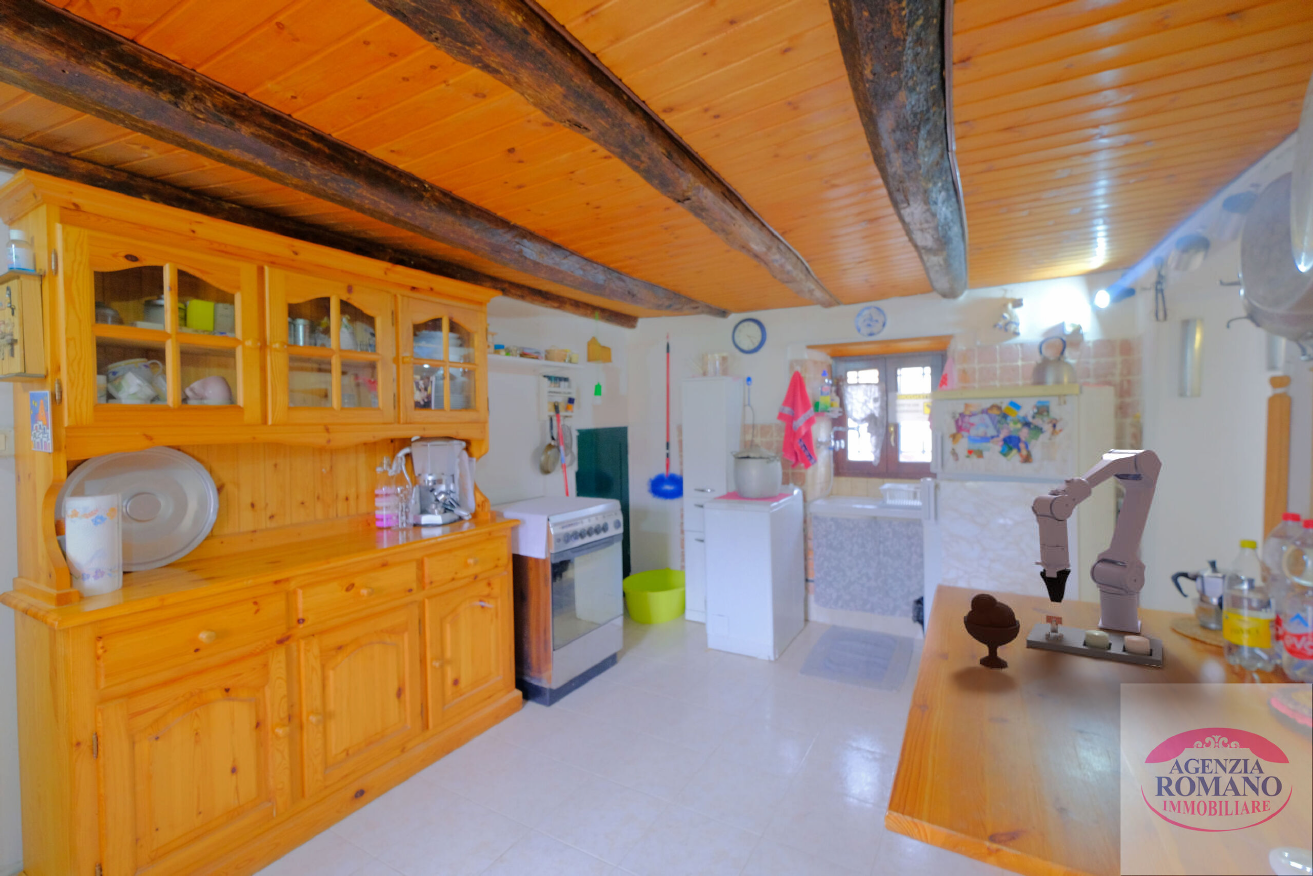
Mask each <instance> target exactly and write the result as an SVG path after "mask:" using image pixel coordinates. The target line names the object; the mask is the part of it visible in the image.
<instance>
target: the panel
mask: <svg viewBox="0 0 1313 876" xmlns="http://www.w3.org/2000/svg"><path fill="white" fill-rule="evenodd" d="M1087 630H1088V629H1086V628H1078V627H1072V626H1065V625H1058V633H1051V623H1042V622H1035V624H1034V626H1033V627H1032V629H1031V631H1030V632H1029V634H1028V636H1027V638H1026V639H1025V640H1026V647H1031V646H1032V647H1031V648H1038V649H1045V650H1051V651H1055V652H1063V653H1068V654H1075V655H1081V656H1089V657H1095V658H1100V659H1107V660H1114V661H1118V662H1125V663H1132V664H1137V665H1143V664H1148V665H1147V666H1150V665H1156V666H1162V667H1163V640H1162V639H1159V638H1152V637H1145V636H1143V637H1144V638H1147V639H1149V642H1150V655H1139V654H1133V653H1128V652H1126V651H1125V639H1124V637H1125V636H1132V635H1128V634H1123V633H1115V632H1108V631H1104V632H1105V633H1107V634H1108V638H1109V648H1108V649H1100V648H1093V647H1088V646H1086V641H1085V631H1087ZM1151 655H1152V656H1151ZM1156 666H1155V667H1156Z"/></svg>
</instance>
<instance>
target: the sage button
mask: <svg viewBox="0 0 1313 876" xmlns="http://www.w3.org/2000/svg"><path fill="white" fill-rule="evenodd" d="M1105 632H1106V631H1101V630H1095V629H1094V630H1093V629H1087V631H1085V641H1086V646H1087V647H1093V648H1100V649H1106V650H1109V649H1108V648H1109V638H1108V634H1107V633H1105Z"/></svg>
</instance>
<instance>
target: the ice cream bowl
mask: <svg viewBox="0 0 1313 876" xmlns="http://www.w3.org/2000/svg"><path fill="white" fill-rule="evenodd" d="M970 609H971V610H969V611H968V612H967V614H966V615H964V616H963V623H964V627H965V630H966V631H967V634H969V635H970V636H971V638H973V639H975V641H977V642H979V643H980V644H983V645H985V646H986V647H987V649H988V650H987V651H988V655H986V656H984V657H981V658H980V659H979V665H981V664H982V665H981V666H983V665H984V666H983V667H985V666H986V667H985V668H988V667H990V668H989V669H993V668H998V669H997V670H1000V669H999V668H1001V670H1003V669H1002V668H1004V669H1006V668H1009V666H1008V663H1007V660H1005V659H1003V658H1001V657H1000V656H999V655H998V648H999V647H1002V646H1005V645H1008V644H1010V643H1011V642H1012V641H1014V640H1015V639H1016V638H1018V636H1019V633H1020V627H1021V625H1020V621H1019V620H1018V619H1016V614H1015V612H1014V610H1013V609H1012V608H1011V607H1010V606H1009V605H1008V604H1006V603H1003V602H1001V601H998V600H997V598H996V597H994V596H993V595H991V594H990V593H989V594H988V593H983V592H982V593H979V594H978V593H977V594H976V595H975V596H974V597H972V599H971V602H970Z"/></svg>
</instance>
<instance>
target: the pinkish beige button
mask: <svg viewBox="0 0 1313 876" xmlns="http://www.w3.org/2000/svg"><path fill="white" fill-rule="evenodd" d="M1144 637H1145V636H1140V635H1131V636H1125V637H1124V639H1125V651H1126V653H1133V654H1139V655H1146V656H1151V655H1150V642H1149V639H1147V638H1148V637H1145V638H1144Z"/></svg>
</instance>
